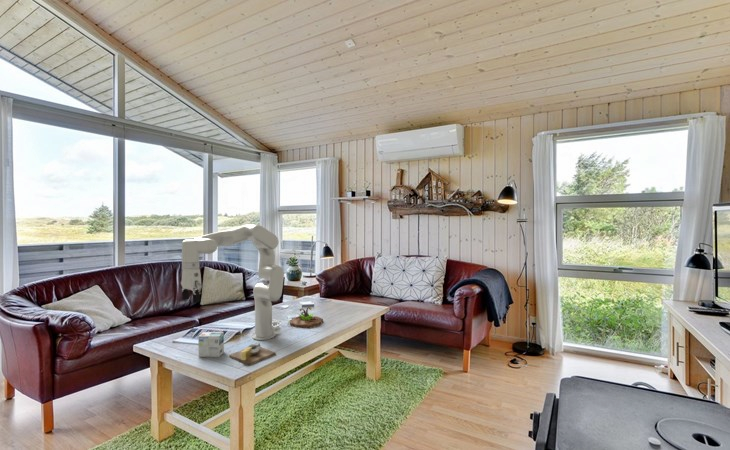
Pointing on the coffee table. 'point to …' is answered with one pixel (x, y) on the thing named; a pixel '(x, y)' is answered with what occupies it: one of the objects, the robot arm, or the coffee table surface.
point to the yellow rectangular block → (250, 352)
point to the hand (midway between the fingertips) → (190, 300)
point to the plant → (306, 320)
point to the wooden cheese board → (254, 358)
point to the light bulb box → (211, 344)
